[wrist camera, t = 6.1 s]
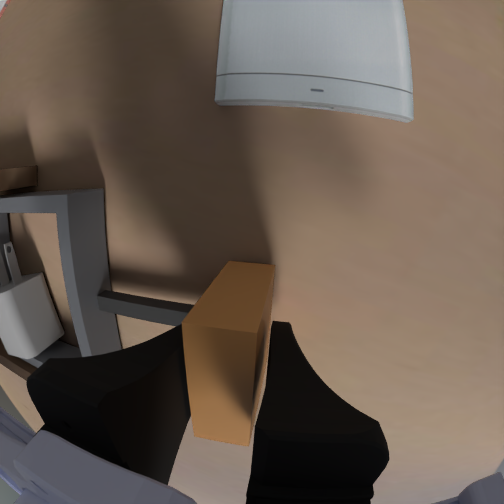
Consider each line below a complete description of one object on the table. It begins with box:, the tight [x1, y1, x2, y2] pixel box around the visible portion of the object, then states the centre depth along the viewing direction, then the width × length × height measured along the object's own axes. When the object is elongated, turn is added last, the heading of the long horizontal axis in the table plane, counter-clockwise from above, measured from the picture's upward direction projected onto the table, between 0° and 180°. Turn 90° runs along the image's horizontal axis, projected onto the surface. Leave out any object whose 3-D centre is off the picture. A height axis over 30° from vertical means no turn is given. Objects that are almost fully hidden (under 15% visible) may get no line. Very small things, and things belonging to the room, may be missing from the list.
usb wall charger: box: [0, 242, 64, 359], centre depth 14 cm, size 4×7×4 cm, turn 10°
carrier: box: [0, 188, 275, 446], centre depth 12 cm, size 11×19×6 cm, turn 87°
